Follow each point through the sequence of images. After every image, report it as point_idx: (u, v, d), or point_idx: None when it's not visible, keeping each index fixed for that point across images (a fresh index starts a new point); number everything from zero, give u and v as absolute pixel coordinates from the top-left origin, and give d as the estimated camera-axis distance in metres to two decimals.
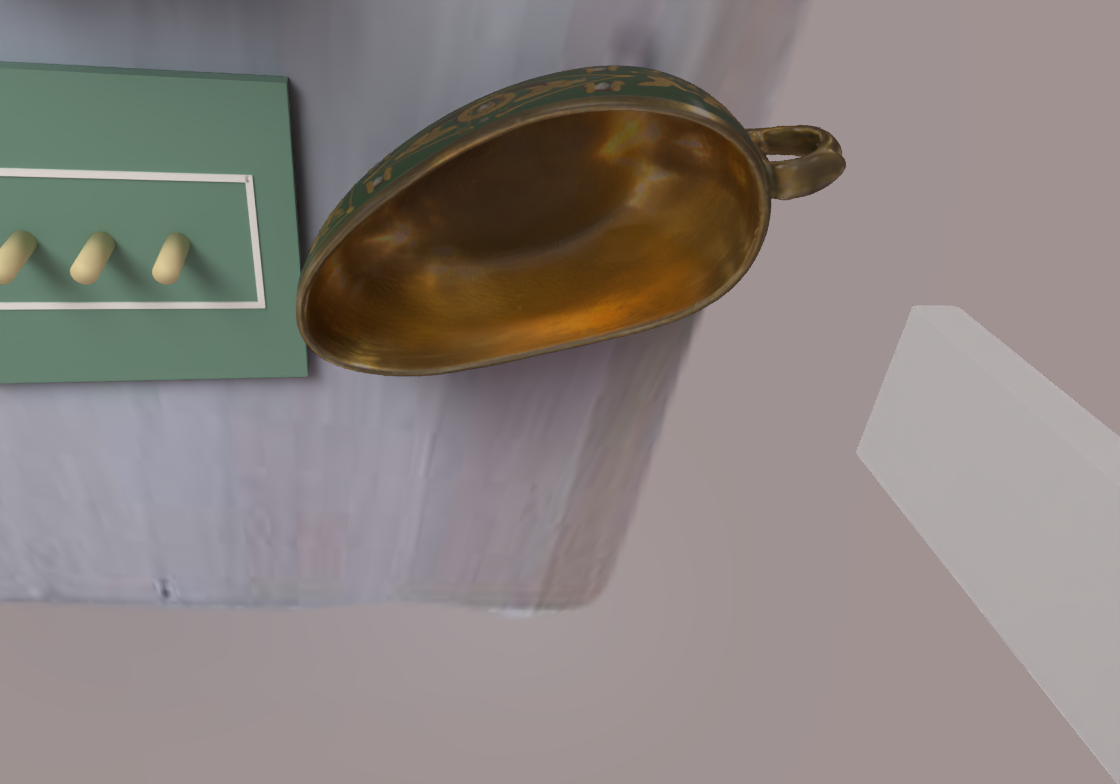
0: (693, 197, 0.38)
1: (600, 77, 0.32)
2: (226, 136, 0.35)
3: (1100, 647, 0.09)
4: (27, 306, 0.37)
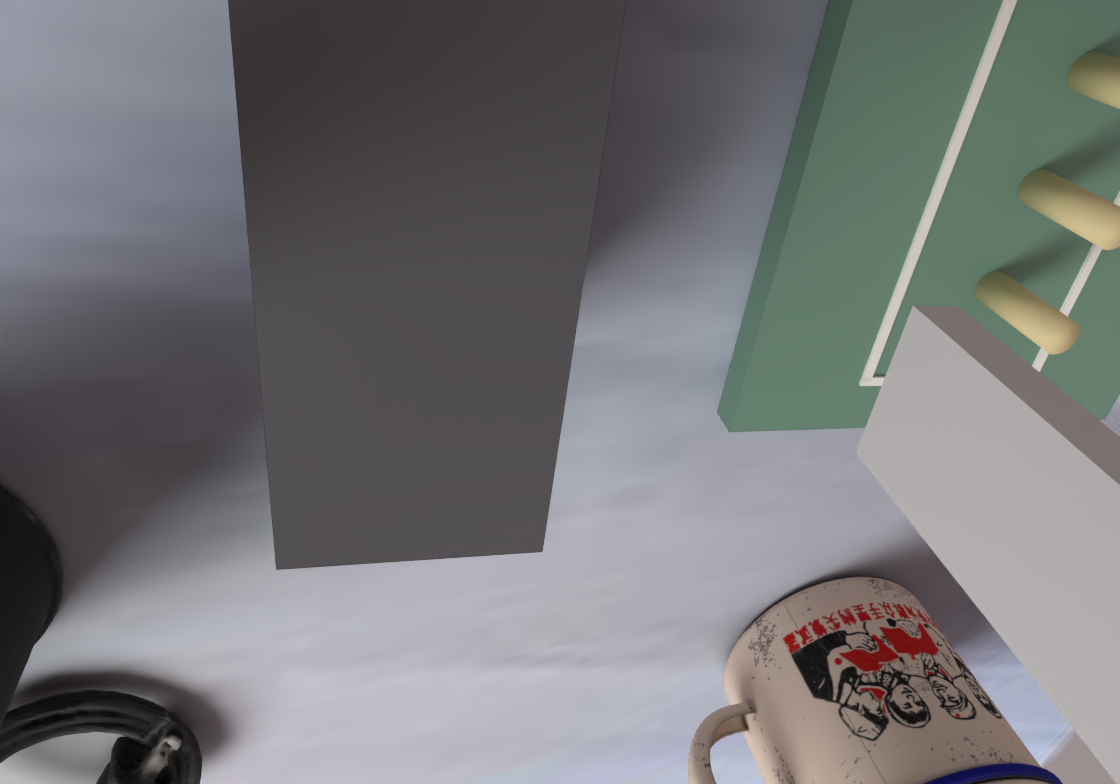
0: None
1: None
2: None
3: (1100, 647, 0.09)
4: (1070, 303, 0.25)
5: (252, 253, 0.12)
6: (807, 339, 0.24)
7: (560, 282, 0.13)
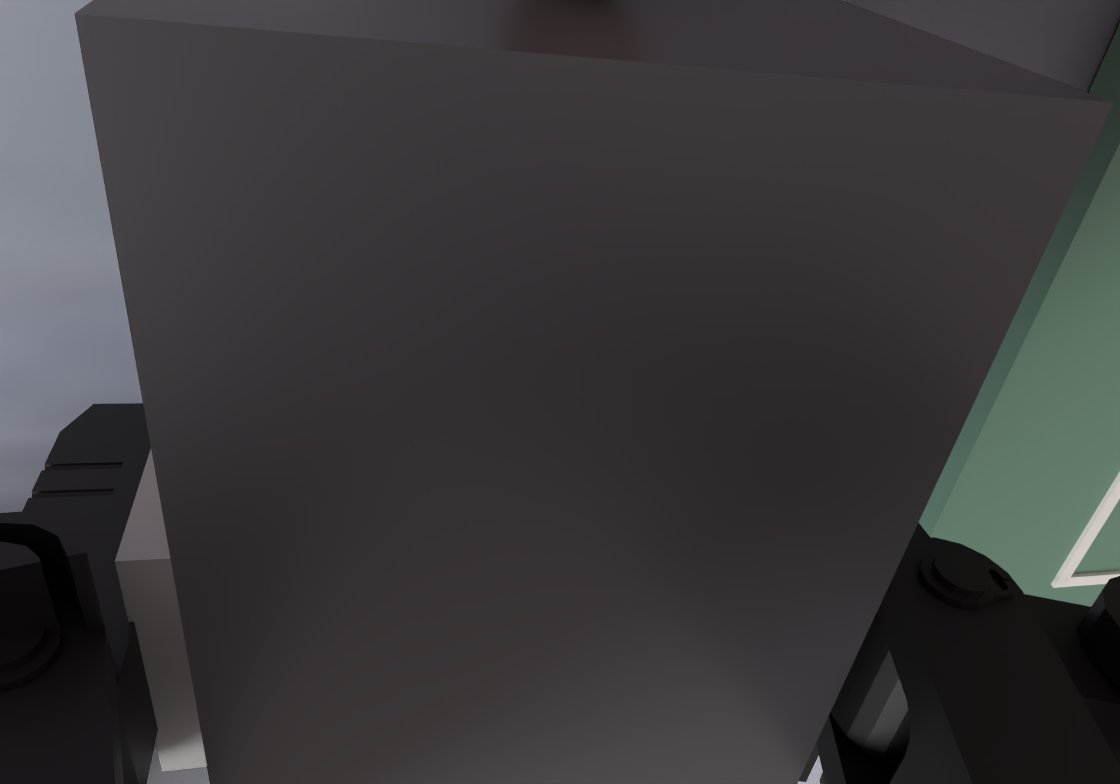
0: None
1: None
2: None
3: None
4: None
5: (209, 745, 0.06)
6: (993, 538, 0.18)
7: (792, 712, 0.07)
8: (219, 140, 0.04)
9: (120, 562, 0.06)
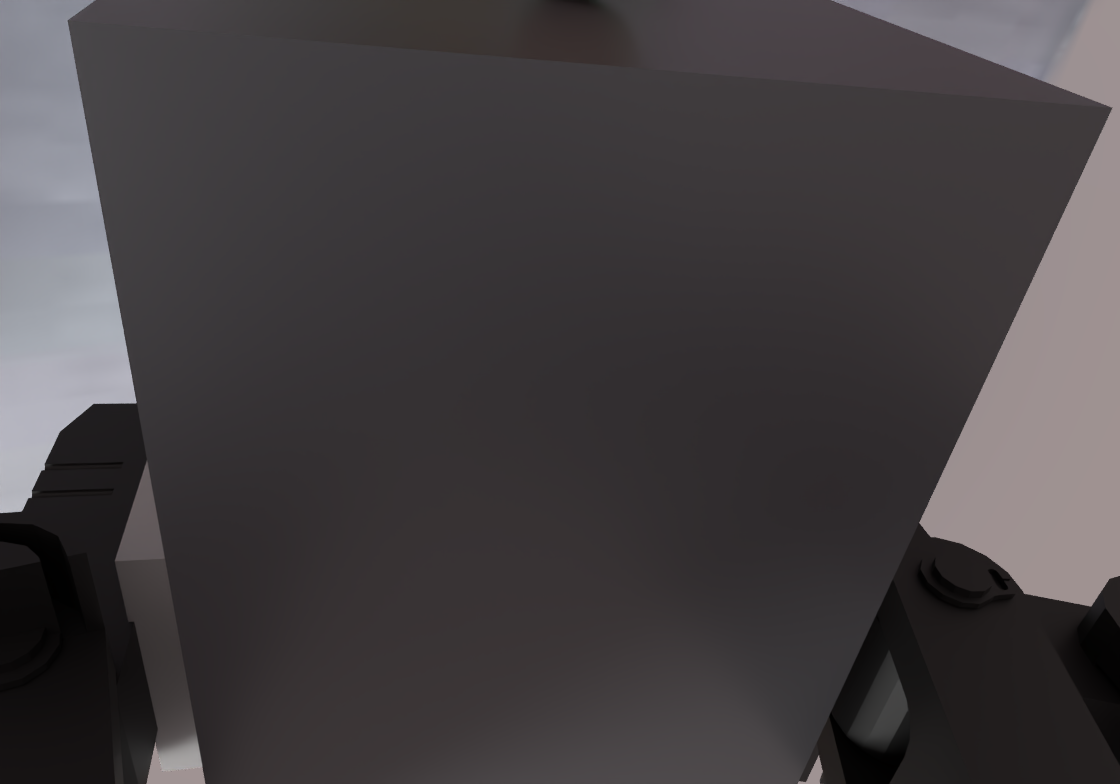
0: None
1: None
2: None
3: None
4: None
5: (205, 750, 0.06)
6: None
7: (791, 717, 0.07)
8: (213, 146, 0.04)
9: (120, 562, 0.06)
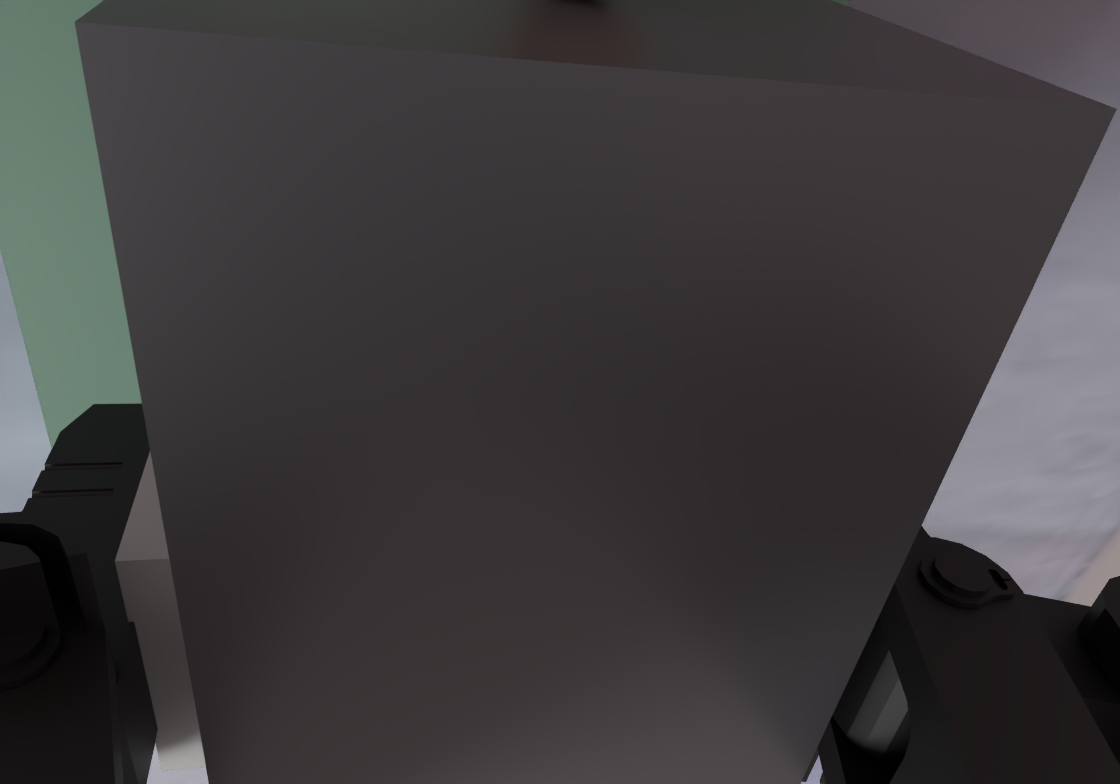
0: None
1: None
2: None
3: None
4: None
5: (209, 751, 0.06)
6: None
7: (793, 717, 0.07)
8: (221, 149, 0.04)
9: (120, 562, 0.06)
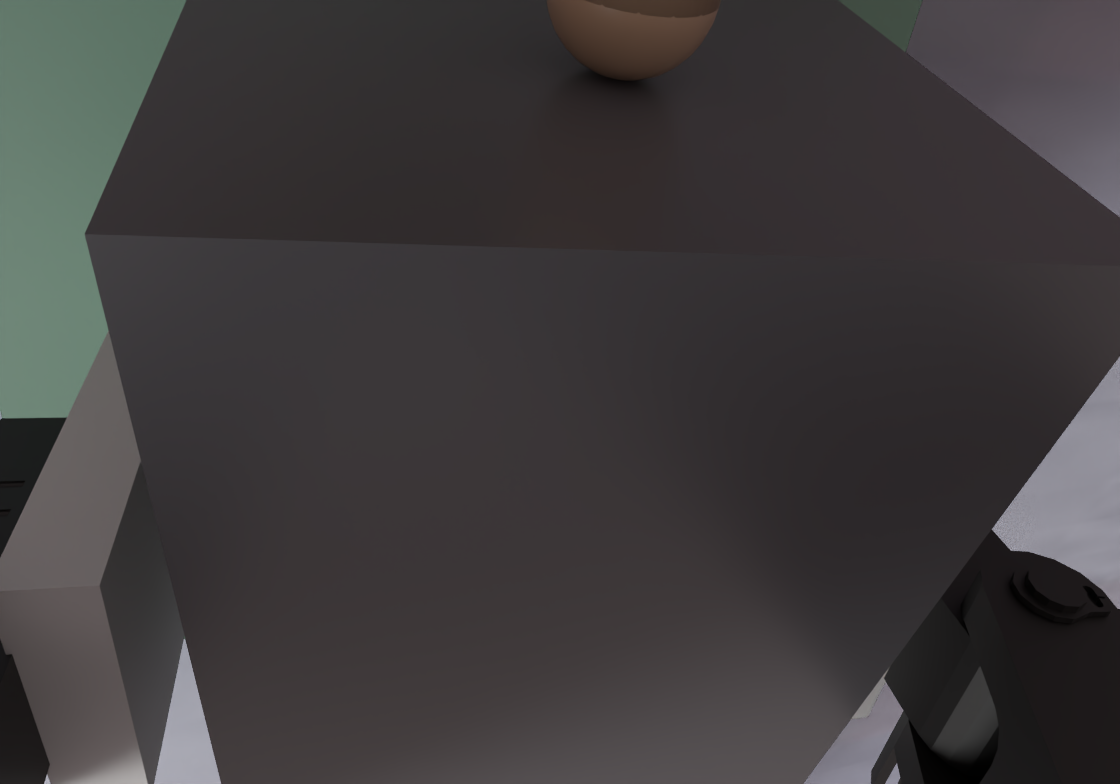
0: None
1: None
2: None
3: None
4: None
5: None
6: None
7: (789, 755, 0.07)
8: (240, 338, 0.03)
9: None
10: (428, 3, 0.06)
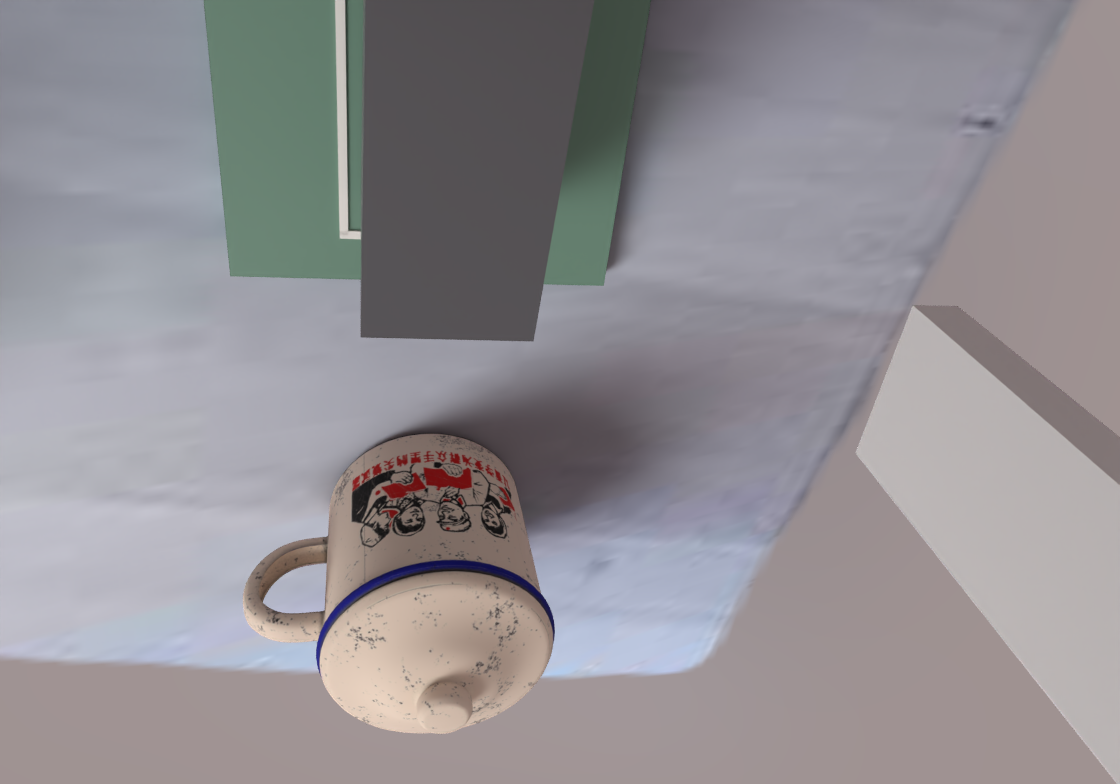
0: None
1: None
2: None
3: (1100, 647, 0.09)
4: None
5: (365, 126, 0.20)
6: (271, 192, 0.29)
7: (551, 156, 0.21)
8: None
9: None
10: None
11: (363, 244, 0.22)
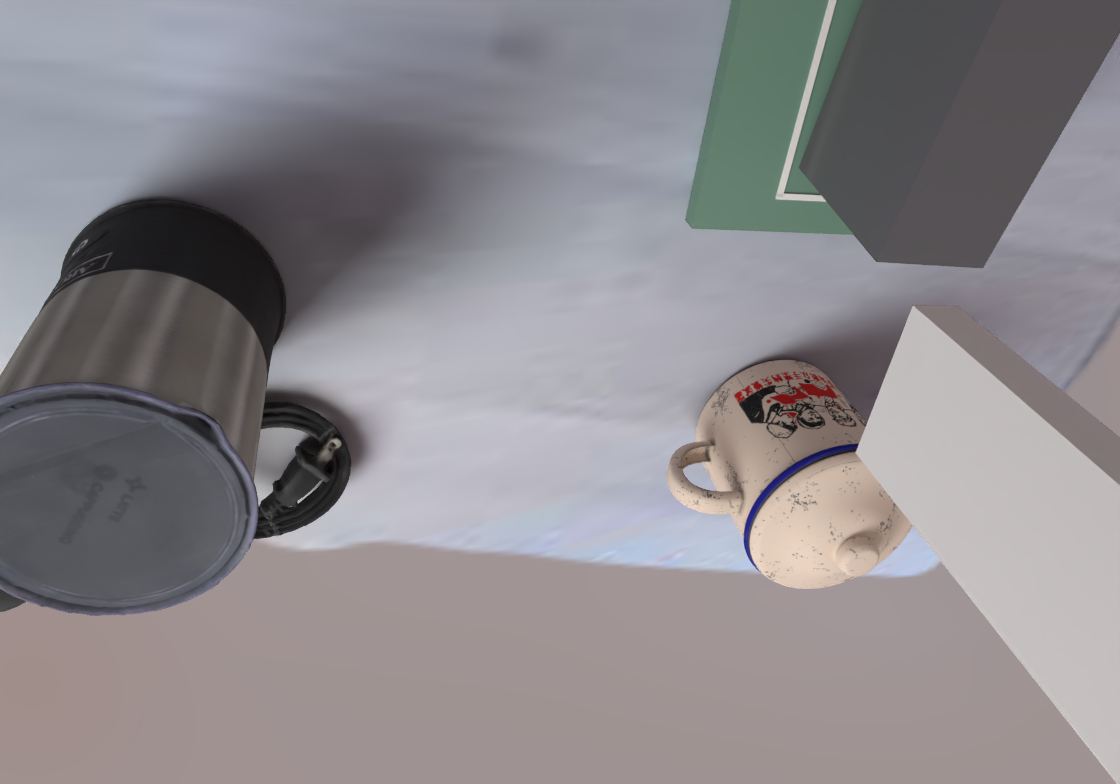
0: None
1: None
2: None
3: (1100, 647, 0.09)
4: None
5: (952, 108, 0.29)
6: (739, 163, 0.39)
7: (1053, 131, 0.31)
8: None
9: None
10: None
11: (910, 192, 0.31)
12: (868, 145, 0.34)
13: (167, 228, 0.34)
